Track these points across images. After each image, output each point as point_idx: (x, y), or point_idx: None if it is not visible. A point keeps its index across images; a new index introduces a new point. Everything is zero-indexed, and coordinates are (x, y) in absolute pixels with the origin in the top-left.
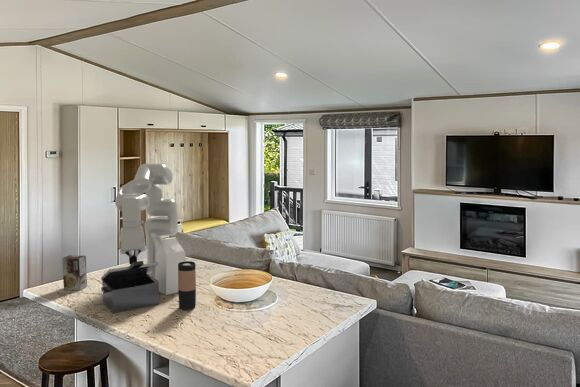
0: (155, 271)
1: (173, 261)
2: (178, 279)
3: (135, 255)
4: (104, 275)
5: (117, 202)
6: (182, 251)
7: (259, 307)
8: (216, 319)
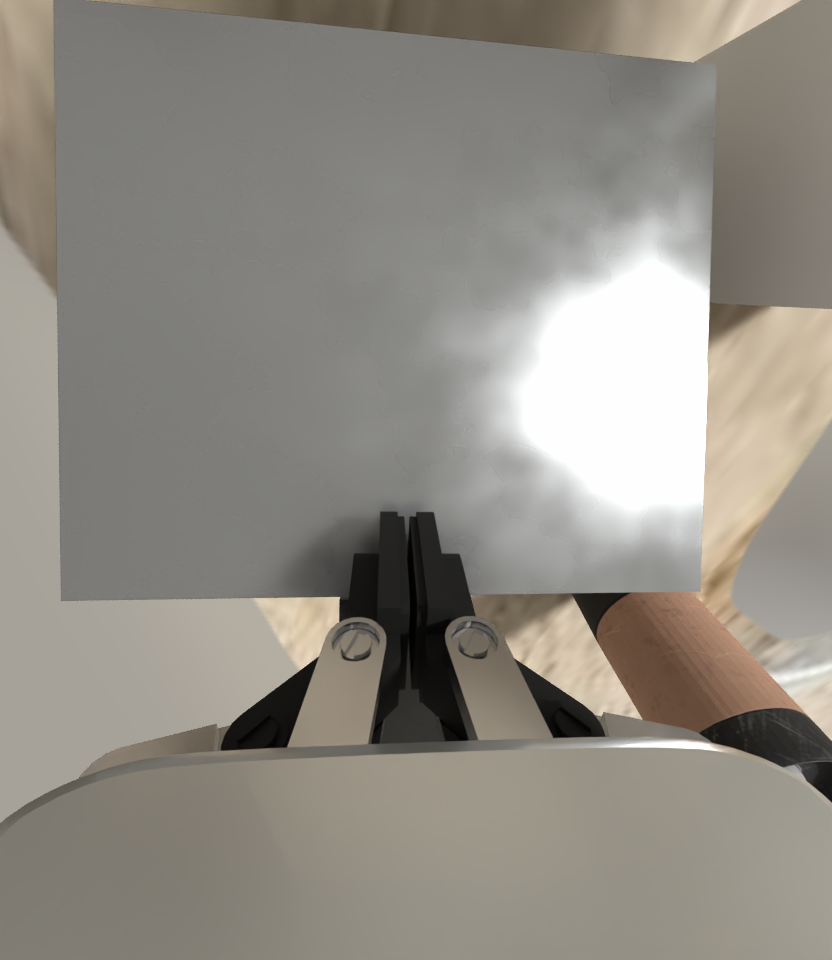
0: None
1: None
2: (635, 679)
3: (439, 724)
4: (69, 262)
5: None
6: None
7: (771, 671)
8: (589, 687)
